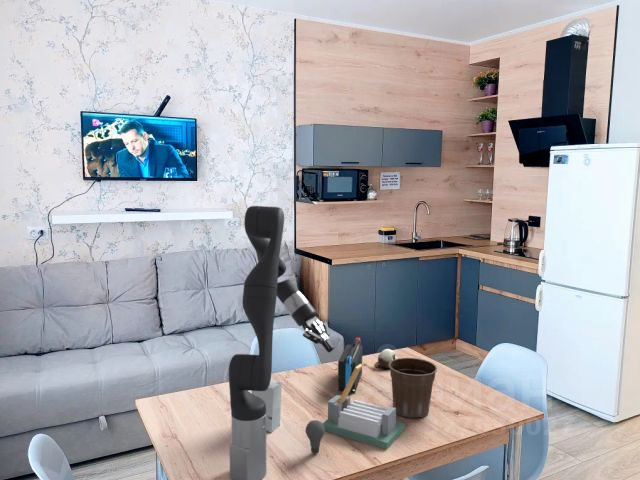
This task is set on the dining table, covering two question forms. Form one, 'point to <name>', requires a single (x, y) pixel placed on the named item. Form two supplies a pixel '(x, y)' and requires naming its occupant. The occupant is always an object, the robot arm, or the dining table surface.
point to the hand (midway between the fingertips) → (331, 350)
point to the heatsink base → (363, 422)
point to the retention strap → (350, 383)
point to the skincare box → (271, 404)
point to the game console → (349, 365)
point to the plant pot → (412, 386)
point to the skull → (385, 359)
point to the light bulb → (315, 434)
